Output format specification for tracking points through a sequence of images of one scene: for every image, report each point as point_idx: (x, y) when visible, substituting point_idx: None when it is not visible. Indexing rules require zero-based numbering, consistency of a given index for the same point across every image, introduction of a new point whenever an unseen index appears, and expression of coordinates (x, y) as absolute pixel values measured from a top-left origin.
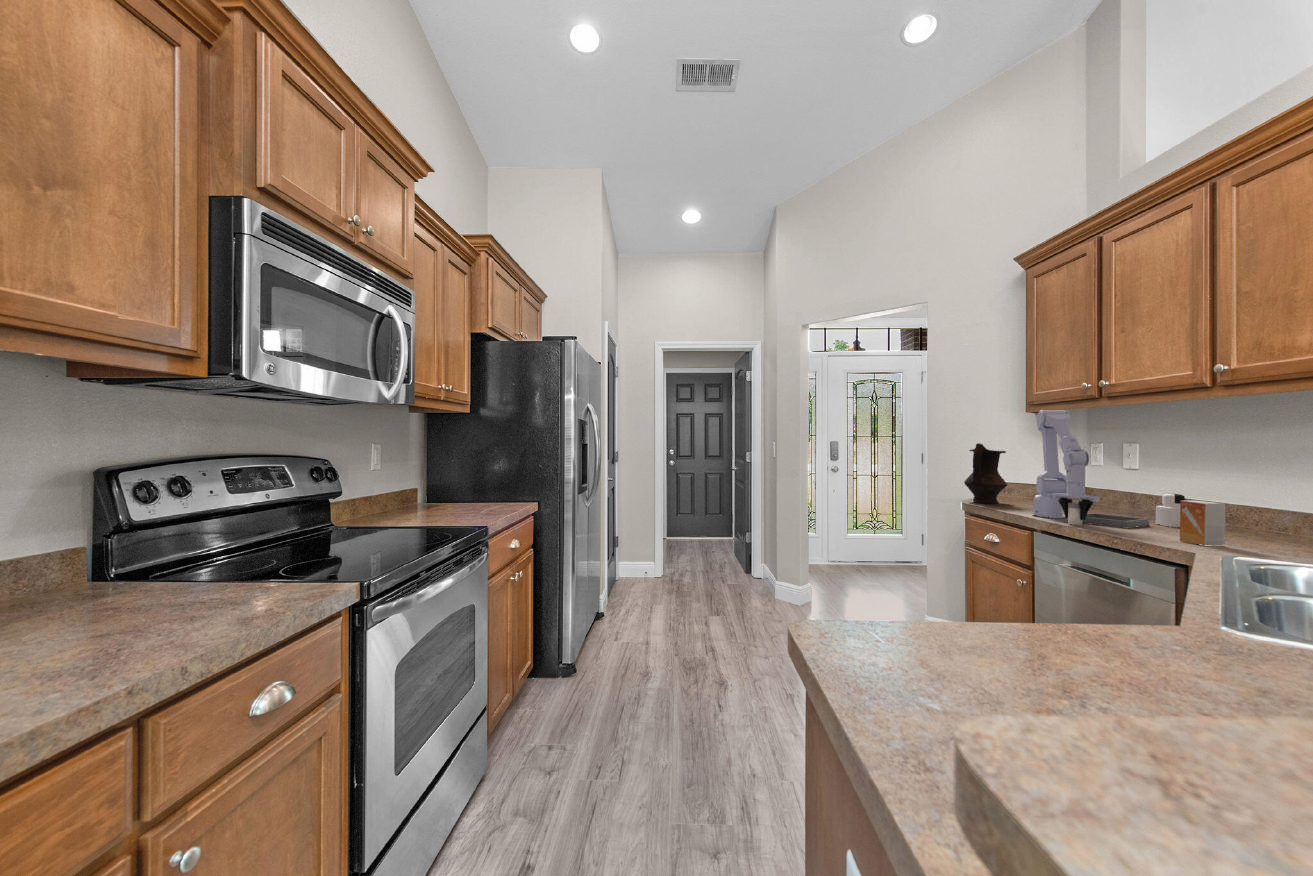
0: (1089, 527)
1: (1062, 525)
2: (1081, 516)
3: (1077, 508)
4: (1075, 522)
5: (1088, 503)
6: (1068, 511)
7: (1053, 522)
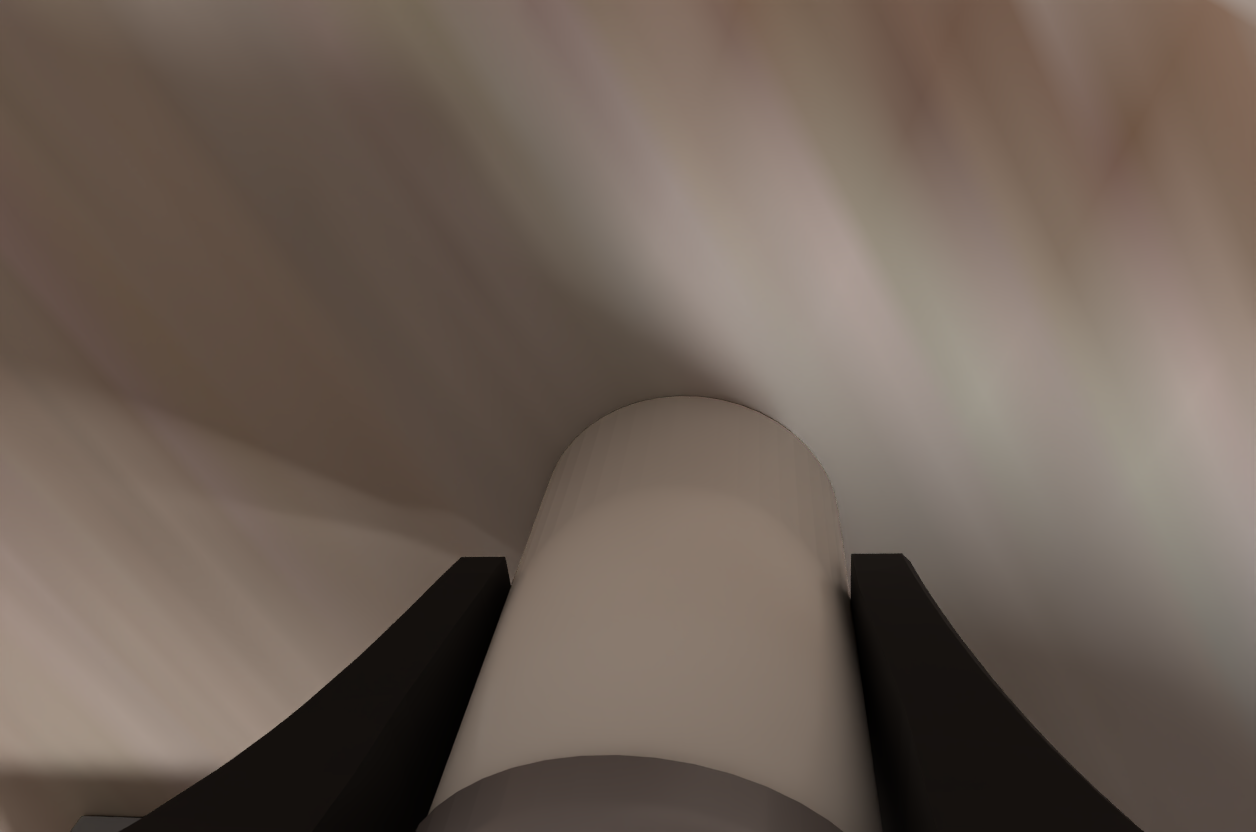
0: (269, 373)
1: (712, 18)
2: (431, 607)
3: (453, 794)
4: (596, 451)
5: None
6: (803, 674)
7: (1175, 393)
